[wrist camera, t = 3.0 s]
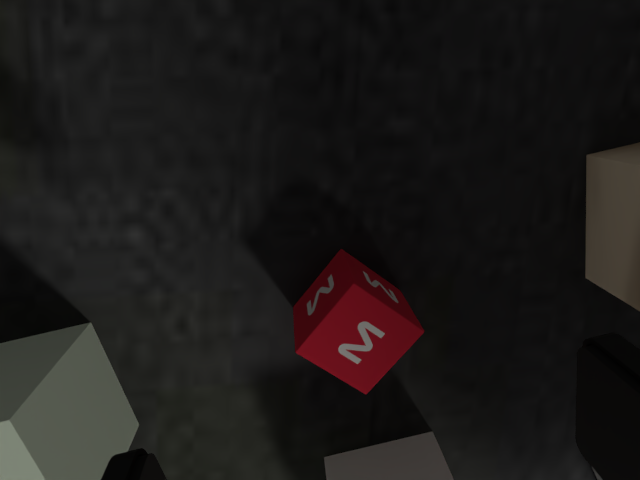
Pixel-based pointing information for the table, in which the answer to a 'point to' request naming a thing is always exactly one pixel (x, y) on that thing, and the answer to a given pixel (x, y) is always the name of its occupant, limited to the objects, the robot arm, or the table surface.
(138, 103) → the table surface
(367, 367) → the red letter cube
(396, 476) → the grey block
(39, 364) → the sage block
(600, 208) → the birch block
